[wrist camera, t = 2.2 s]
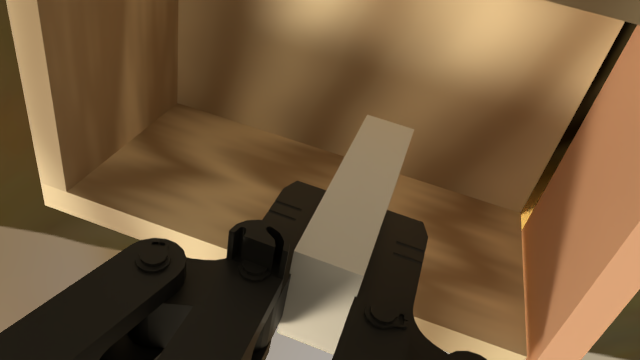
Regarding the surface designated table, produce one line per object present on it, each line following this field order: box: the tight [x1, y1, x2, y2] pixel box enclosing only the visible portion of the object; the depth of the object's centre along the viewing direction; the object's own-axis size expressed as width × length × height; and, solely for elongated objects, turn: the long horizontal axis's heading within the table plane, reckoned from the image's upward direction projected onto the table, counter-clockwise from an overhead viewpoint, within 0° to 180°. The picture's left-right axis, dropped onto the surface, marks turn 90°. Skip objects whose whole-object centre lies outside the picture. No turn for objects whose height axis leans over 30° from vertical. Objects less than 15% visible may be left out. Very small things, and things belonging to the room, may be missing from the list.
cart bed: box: [6, 0, 640, 360], centre depth 20 cm, size 20×14×10 cm
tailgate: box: [521, 25, 640, 360], centre depth 18 cm, size 1×14×9 cm, turn 169°
